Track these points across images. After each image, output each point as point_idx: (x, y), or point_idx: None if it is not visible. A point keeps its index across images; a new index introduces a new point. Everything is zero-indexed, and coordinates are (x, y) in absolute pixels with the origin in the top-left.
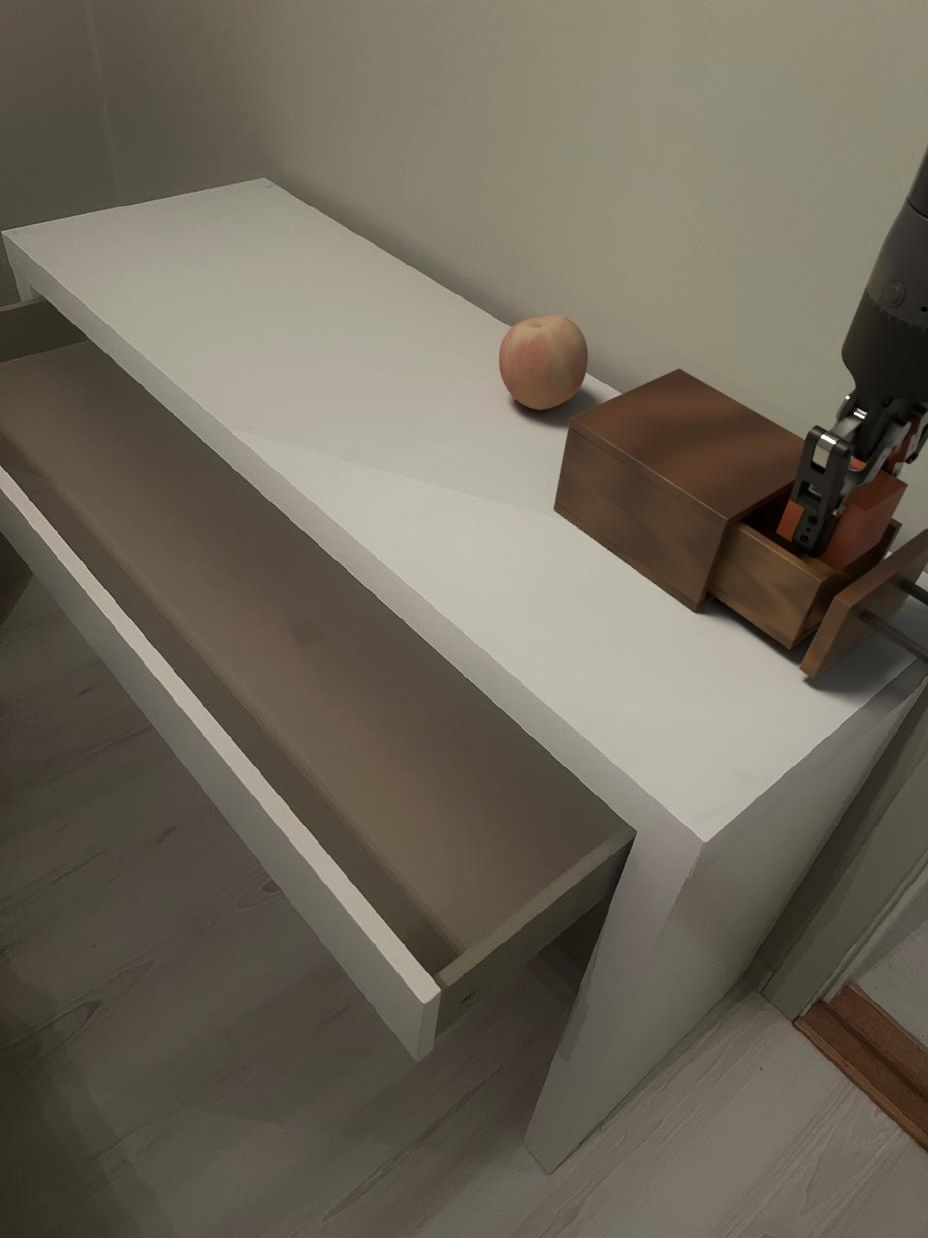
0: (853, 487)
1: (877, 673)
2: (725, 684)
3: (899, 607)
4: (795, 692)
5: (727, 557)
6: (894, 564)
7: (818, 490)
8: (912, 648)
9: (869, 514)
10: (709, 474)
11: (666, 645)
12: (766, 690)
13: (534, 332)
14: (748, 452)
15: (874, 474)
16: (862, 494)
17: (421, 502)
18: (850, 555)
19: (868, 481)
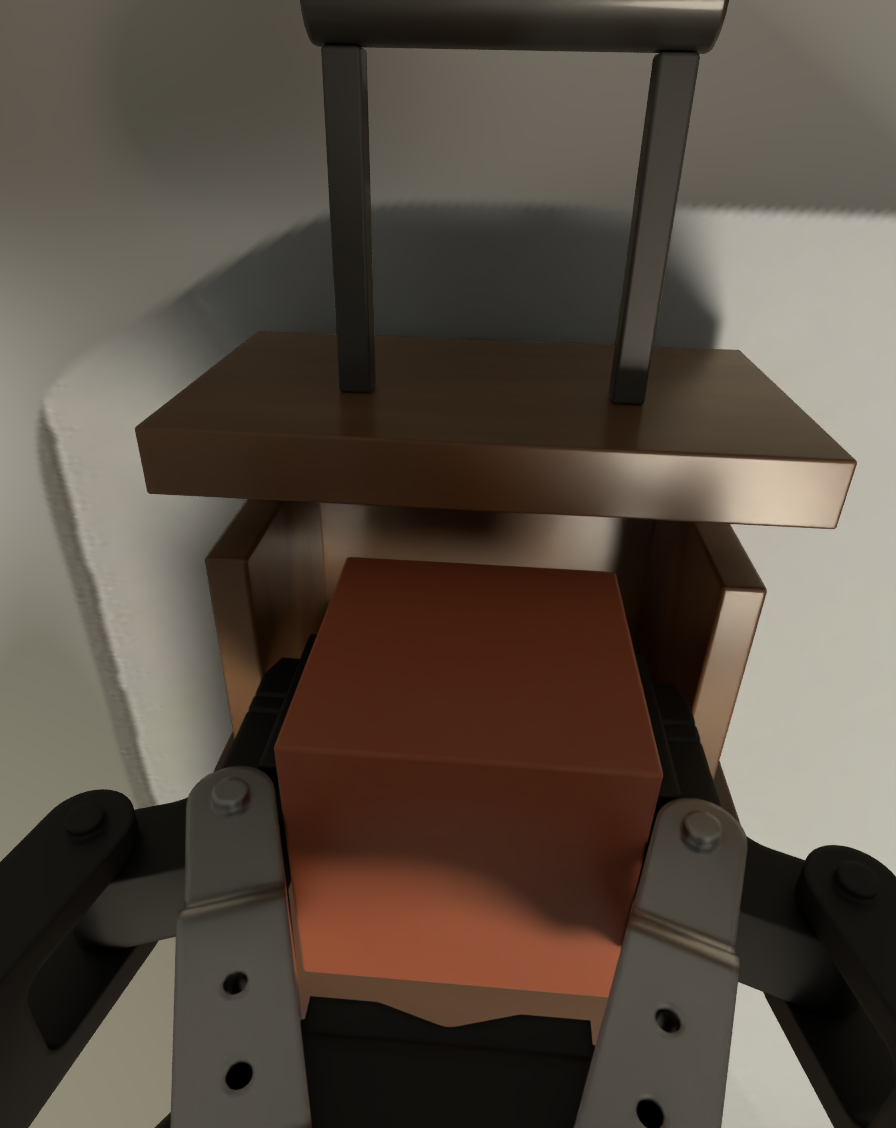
0: (712, 941)
1: (522, 235)
2: (863, 489)
3: (277, 336)
4: (767, 356)
5: None
6: (470, 471)
7: (776, 974)
8: (679, 174)
9: (621, 749)
10: (597, 1000)
11: (830, 637)
12: (814, 411)
13: None
14: (405, 984)
15: (650, 984)
16: (544, 832)
17: (778, 1048)
18: (581, 601)
19: (678, 953)
